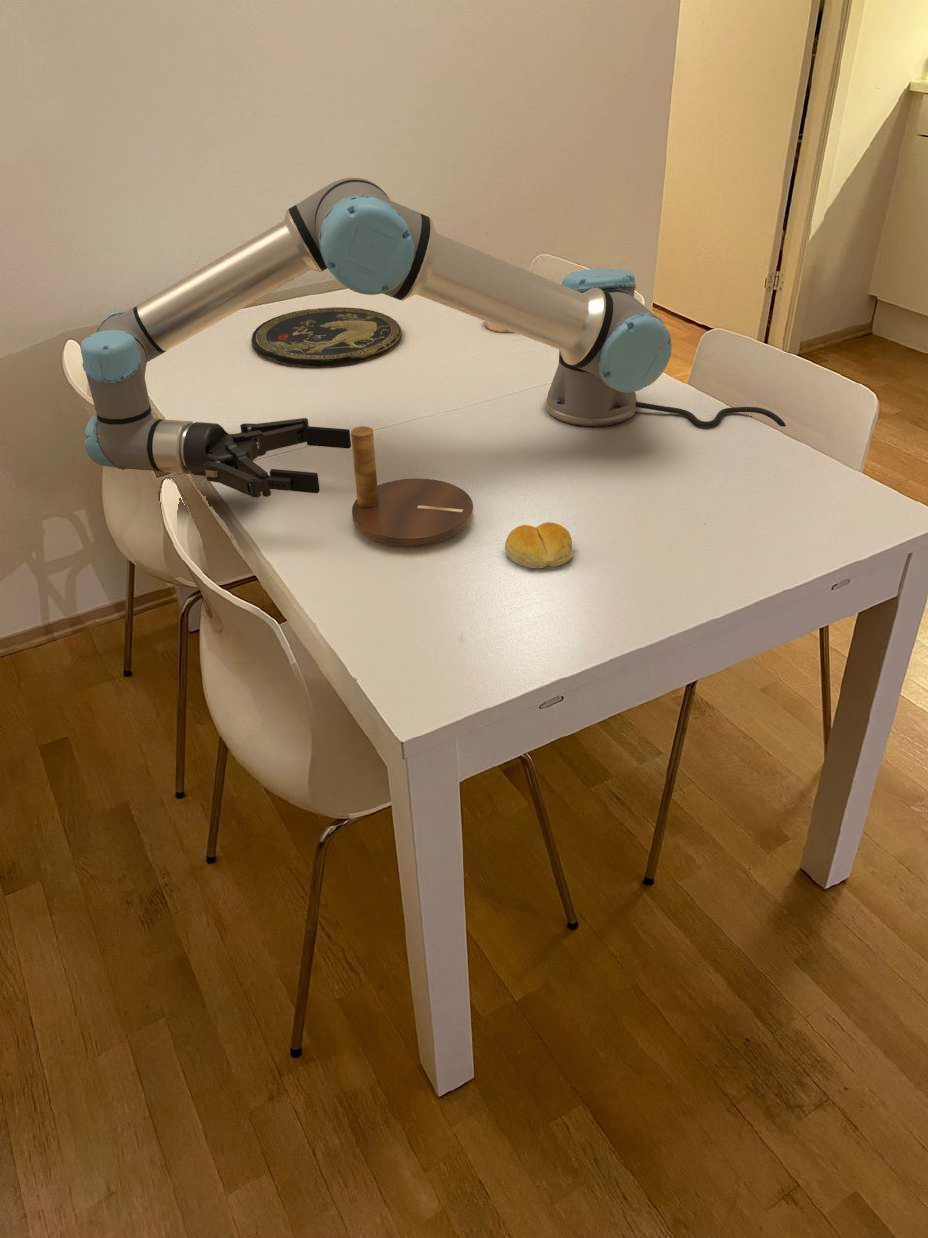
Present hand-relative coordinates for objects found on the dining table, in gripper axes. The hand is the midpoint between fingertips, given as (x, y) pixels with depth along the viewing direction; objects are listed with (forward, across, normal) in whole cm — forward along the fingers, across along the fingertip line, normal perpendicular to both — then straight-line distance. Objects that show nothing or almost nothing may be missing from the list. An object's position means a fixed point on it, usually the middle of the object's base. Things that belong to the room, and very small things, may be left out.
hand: (334, 460), depth 140 cm
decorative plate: (-25, -67, -9) cm, 72 cm away
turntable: (+11, 0, -7) cm, 13 cm away
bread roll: (+30, +5, -9) cm, 32 cm away
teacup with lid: (+10, -80, -9) cm, 81 cm away
